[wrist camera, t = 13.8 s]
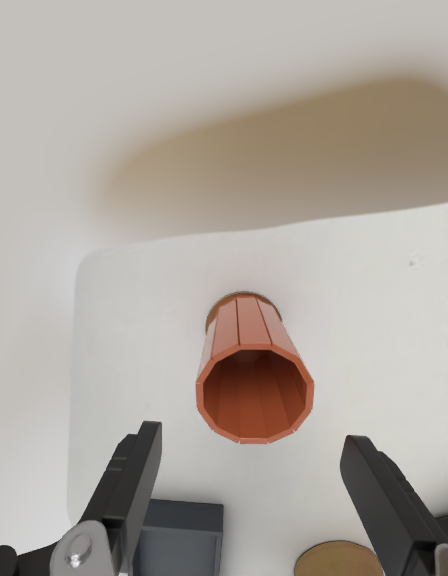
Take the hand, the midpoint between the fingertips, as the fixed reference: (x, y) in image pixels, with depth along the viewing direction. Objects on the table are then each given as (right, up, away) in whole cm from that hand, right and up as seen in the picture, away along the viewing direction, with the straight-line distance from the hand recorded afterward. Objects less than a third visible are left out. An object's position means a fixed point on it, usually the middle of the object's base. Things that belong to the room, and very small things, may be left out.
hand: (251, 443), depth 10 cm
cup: (+1, +3, +11) cm, 12 cm away
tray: (-7, -28, +20) cm, 35 cm away
